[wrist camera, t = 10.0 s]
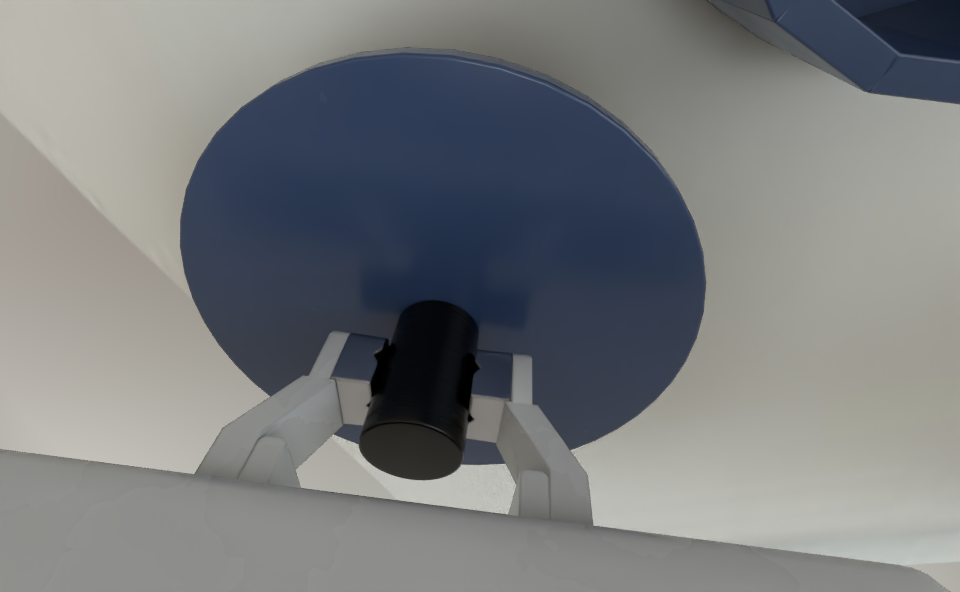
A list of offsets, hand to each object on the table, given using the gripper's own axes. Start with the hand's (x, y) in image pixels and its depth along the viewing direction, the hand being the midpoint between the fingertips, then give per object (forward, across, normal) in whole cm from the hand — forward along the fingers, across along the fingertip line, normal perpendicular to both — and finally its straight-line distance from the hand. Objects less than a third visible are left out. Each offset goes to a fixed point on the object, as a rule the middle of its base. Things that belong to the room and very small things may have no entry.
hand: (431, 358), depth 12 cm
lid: (+2, 0, 0) cm, 2 cm away
